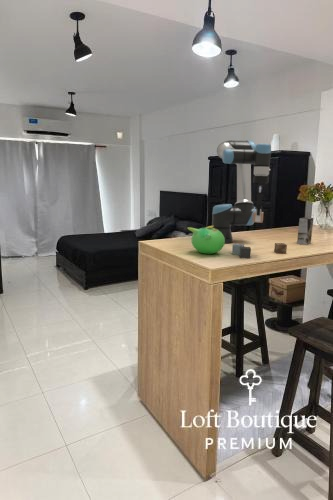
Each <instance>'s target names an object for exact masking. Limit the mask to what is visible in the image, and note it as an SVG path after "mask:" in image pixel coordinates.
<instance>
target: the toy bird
mask: <svg viewBox="0 0 333 500" xmlns="http://www.w3.org/2000/svg"><path fill="white" fill-rule="evenodd" d="M212 227H213V226H212V225H209V226H205V227H204V226H203V227H201V228H194V227H187V228H186V229H187V230H188V231H190V232H192V235H191V238H190V239H191V244H192V246H193V248H194V249H195V250H196V251H198V252H199V253H201V254H205V255H213V254H215V253H216V254H217V253H218V252H220V251H221V250H222V249H223V248H224V247H225V244H226V243H225V239H224V236H223V234H222V233H221V232H220V231H219V230H217V229H215V228H212Z"/></svg>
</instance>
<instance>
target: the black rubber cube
mask: <svg viewBox="0 0 333 500" xmlns="http://www.w3.org/2000/svg"><path fill="white" fill-rule="evenodd" d="M251 252H252V249H251V246H244V247H240V255H239V259H251Z"/></svg>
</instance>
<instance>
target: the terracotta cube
mask: <svg viewBox="0 0 333 500" xmlns="http://www.w3.org/2000/svg"><path fill="white" fill-rule="evenodd" d="M255 215H256V212H253V222H254V223H256V222H255ZM263 221H264V211H261V221H260V222H257V223H258V224H259V223H261V224H262V223H263Z"/></svg>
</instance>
